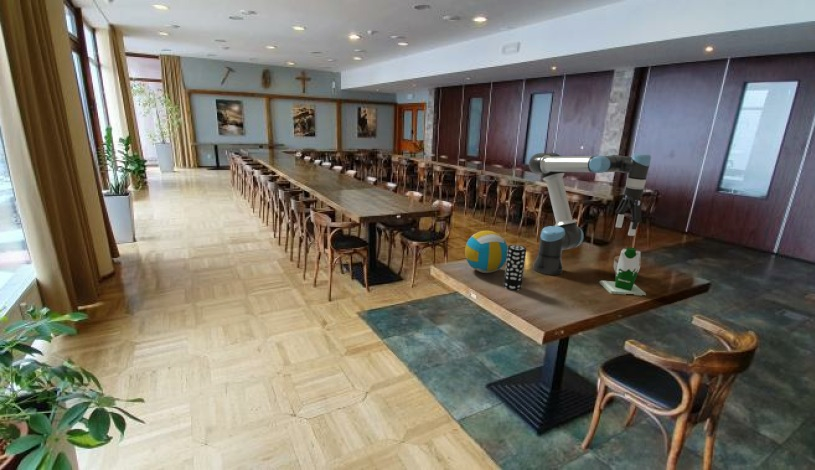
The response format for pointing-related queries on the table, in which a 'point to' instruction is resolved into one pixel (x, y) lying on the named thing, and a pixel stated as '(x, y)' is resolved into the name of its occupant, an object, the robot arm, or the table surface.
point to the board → (614, 290)
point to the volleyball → (486, 251)
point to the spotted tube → (514, 267)
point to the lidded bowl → (617, 263)
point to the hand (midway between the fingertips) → (624, 231)
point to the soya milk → (627, 268)
